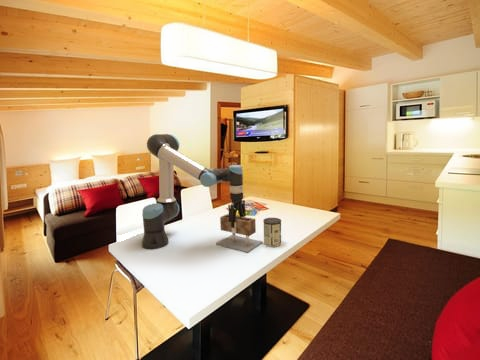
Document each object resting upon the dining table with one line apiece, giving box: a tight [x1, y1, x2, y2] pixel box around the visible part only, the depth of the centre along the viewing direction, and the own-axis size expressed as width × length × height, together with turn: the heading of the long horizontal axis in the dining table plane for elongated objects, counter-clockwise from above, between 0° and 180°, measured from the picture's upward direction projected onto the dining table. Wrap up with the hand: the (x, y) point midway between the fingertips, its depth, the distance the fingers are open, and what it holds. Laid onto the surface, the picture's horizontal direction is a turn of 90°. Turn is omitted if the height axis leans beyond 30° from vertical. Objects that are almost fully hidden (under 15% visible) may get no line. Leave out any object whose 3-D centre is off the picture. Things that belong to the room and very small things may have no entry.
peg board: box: [215, 232, 263, 254], centre depth 157 cm, size 22×16×6 cm
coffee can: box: [262, 217, 282, 248], centre depth 156 cm, size 10×10×14 cm
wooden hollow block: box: [219, 213, 257, 237], centre depth 156 cm, size 20×7×8 cm, turn 56°
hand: (237, 230), depth 157 cm, fingers closed on wooden hollow block, 7 cm apart
